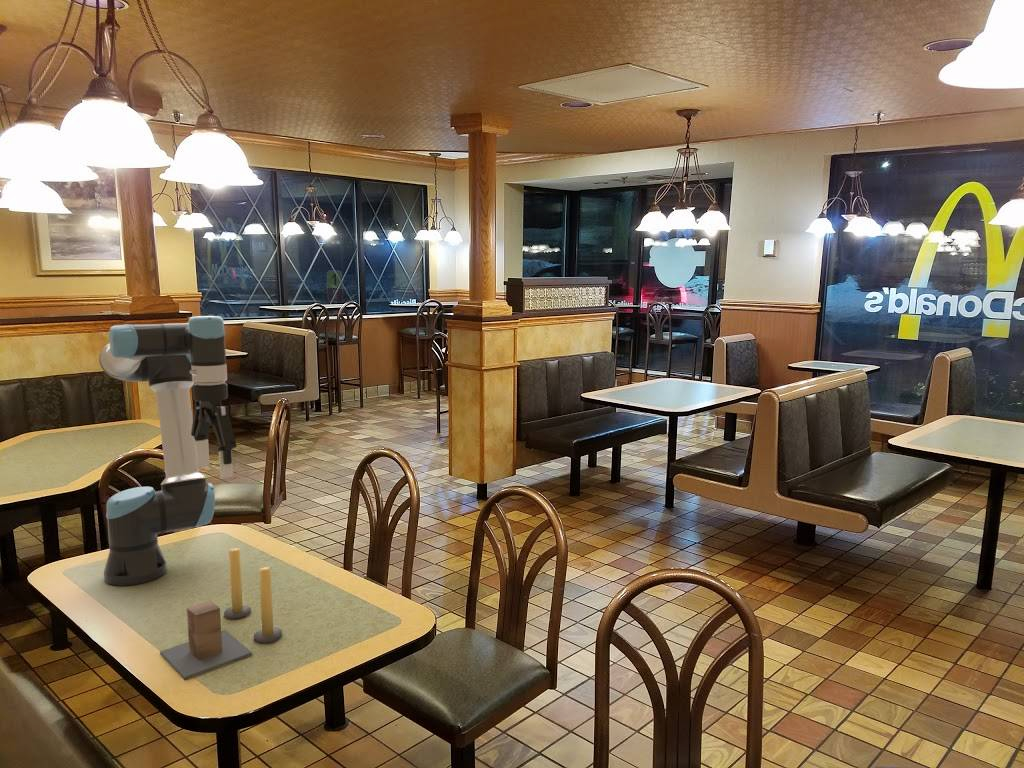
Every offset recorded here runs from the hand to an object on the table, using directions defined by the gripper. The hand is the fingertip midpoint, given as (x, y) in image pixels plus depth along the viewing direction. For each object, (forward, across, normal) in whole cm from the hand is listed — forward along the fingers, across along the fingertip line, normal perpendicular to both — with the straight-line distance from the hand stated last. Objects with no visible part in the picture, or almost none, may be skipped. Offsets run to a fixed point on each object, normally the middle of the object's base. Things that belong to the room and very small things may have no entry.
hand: (214, 471), depth 168 cm
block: (+34, +18, -11) cm, 40 cm away
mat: (+35, +18, -11) cm, 41 cm away
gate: (+35, +12, +2) cm, 37 cm away
